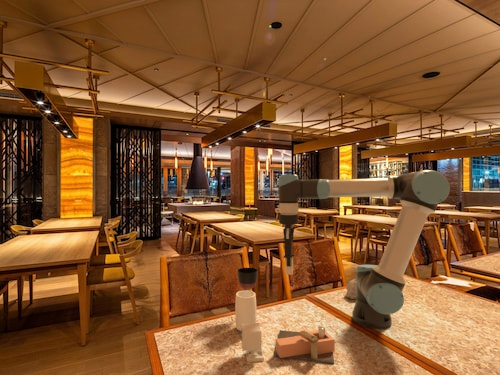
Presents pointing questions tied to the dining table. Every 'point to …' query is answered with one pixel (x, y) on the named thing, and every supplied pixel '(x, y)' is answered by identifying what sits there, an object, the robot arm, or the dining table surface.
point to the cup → (245, 308)
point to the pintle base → (313, 339)
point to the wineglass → (247, 278)
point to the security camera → (252, 341)
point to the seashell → (351, 290)
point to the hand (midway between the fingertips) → (289, 273)
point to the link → (303, 345)
